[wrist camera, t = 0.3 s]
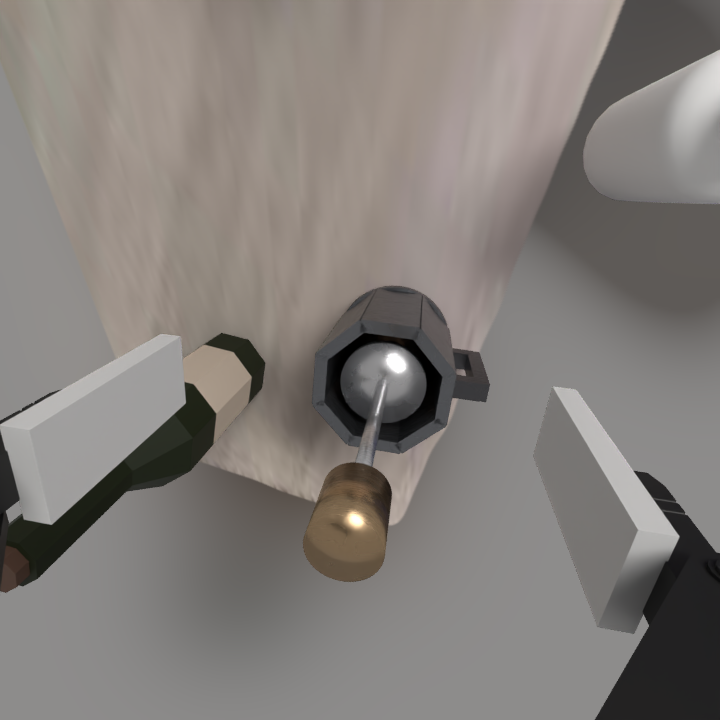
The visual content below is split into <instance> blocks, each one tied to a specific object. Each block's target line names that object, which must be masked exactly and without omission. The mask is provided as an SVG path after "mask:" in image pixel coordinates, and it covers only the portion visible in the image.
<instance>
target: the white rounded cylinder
mask: <svg viewBox="0 0 720 720" xmlns="http://www.w3.org/2000/svg"><path fill="white" fill-rule="evenodd" d="M583 167H584V171H585V173H586V176H587V178H588V181H589V183H590V184H591V185H592V186H593V187H594V188H595V189H596V190H597V191H598V192H599V193H600V194H602V195H604V196H606V197H609V198H610V199H612V200H620V201H634V202H667V203H699V204H720V50H718V51H716V52H714V53H712V54H711V55H708V56H706V57H704V58H702V59H700V60H698V61H696V62H694V63H692V64H691V65H688V66H686V67H684V68H682V69H680V70H678V71H676V72H674V73H672V74H670V75H668V76H666V77H664V78H662V79H660V80H658V81H656V82H654V83H652V84H650V85H648V86H646V87H644V88H642V89H641V90H638V91H636V92H634V93H633V94H631V95H629V96H626V97H625V98H623V99H621V100H620V101H618V102H616V103H614V104H613V105H611V106H610V107H609V108H608V109H607V110H606V111H605V112H604V113H603V114H602V115H601V116H600V117H599V118H598V119H597V120H596V122H595V123H594V125H593V127H592V129H591V130H590V132H589V134H588V136H587V138H586V143H585V146H584V150H583Z"/></svg>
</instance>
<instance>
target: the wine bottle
mask: <svg viewBox="0 0 720 720" xmlns="http://www.w3.org/2000/svg"><path fill="white" fill-rule="evenodd" d="M264 369H265V362H264V361H263V359H262V358H261V356H260V355H259V354H258V352H257V351H256V349H255V348H254V347H253V345H252V344H251V342H250V341H249V340H247V339H243V338H239V337H235V336H231V335H227V334H223V333H221V334H219V335H218V336H216V337H215V338H213V339H212V340H210V341H209V342H207V343H206V344H204V345H203V346H201V347H200V348H198V349H197V350H195V351H194V352H192V353H191V354H189V355H188V356H186V357H185V358H183V371H184V384H185V397H186V404H185V405H183V406H182V407H181V408H180V409H179V410H178V411H177V412H176V413H175V414H174V415H172V416H171V417H170V418H169V419H168V420H167V421H166V422H165V423H164V424H162V425H161V426H160V427H159V428H158V429H157V430H156V431H155V432H154V433H153V434H151V435H150V436H149V437H148V438H147V439H146V440H145V441H144V442H143V443H141V444H140V445H139V446H138V447H137V448H136V449H135V450H134V451H133V452H132V453H130V454H129V455H128V456H127V457H126V458H125V459H124V460H123V461H122V462H121V463H119V464H118V465H117V466H116V467H115V468H114V469H113V470H112V471H111V472H109V473H108V474H107V475H106V476H105V477H104V478H103V479H102V480H101V481H100V482H98V483H97V484H96V485H95V486H94V487H93V488H92V489H91V490H90V491H88V492H87V493H86V494H85V495H84V496H83V497H82V498H81V499H80V500H79V501H77V502H76V503H75V504H74V505H73V506H72V507H71V508H70V509H69V510H68V511H66V512H65V513H64V514H63V515H62V516H61V517H60V518H59V519H58V520H56V521H55V522H54V523H53V524H52V525H50V524H44V523H39V522H34V521H28V520H24V518H23V514H21V515H20V516H18V517H17V518H16V519H14V520H13V521H12V522H11V523H9V525H8V533H7V541H6V549H5V557H4V565H3V573H2V581H1V588H0V591H2V592H5V593H6V592H8V591H10V590H12V589H14V588H16V587H17V586H18V585H20V586H24V585H26V584H28V583H30V582H32V581H34V580H36V579H38V578H39V577H40V576H41V575H42V574H43V573H44V572H45V571H46V570H47V569H48V568H49V567H50V566H51V565H52V564H53V563H54V562H55V561H56V560H57V559H58V558H59V557H60V556H61V555H62V554H63V553H64V552H65V551H66V550H67V549H68V548H69V547H70V546H71V545H72V544H73V543H74V542H75V541H76V540H77V539H78V538H79V537H80V536H81V535H82V534H83V533H85V531H87V530H88V529H89V528H90V527H91V525H93V524H94V523H95V522H96V521H97V520H98V518H100V517H101V516H102V515H103V514H104V513H105V512H106V511H107V510H108V509H109V508H110V507H111V506H112V505H113V504H114V503H115V502H116V501H117V500H118V499H119V498H120V497H121V496H122V495H123V494H124V493H125V492H127V491H133V490H140V489H146V488H153V487H160V486H164V485H166V484H167V483H169V482H171V481H173V480H175V479H177V478H178V477H180V476H182V475H184V474H186V473H188V472H189V471H191V470H192V468H193V467H194V466H195V465H196V464H197V463H198V461H199V460H200V459H201V458H202V457H203V456H204V455H205V453H206V452H207V451H208V450H209V449H210V448H211V446H212V445H213V444H214V443H215V442H216V441H217V439H218V438H219V437H220V436H221V435H222V434H223V432H224V431H225V430H226V429H227V428H228V427H229V426H230V424H231V423H232V422H233V421H234V420H235V419H236V417H237V416H238V415H239V414H240V413H241V412H242V410H243V409H244V408H245V407H246V406H247V405H248V403H249V402H250V401H251V400H252V399H253V398H254V397H255V395H256V394H257V393H258V392H259V391H260V390H261V388H262V383H263V376H264Z"/></svg>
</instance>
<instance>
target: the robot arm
mask: <svg viewBox="0 0 720 720" xmlns="http://www.w3.org/2000/svg"><path fill="white" fill-rule="evenodd" d="M185 404H186V397H185V384H184V371H183V358H182V344H181V336H174V335H167V334H160V335H158V336H156V337H154V338H153V339H151V340H149V341H147V342H146V343H144V344H142V345H140V346H139V347H137V348H135V349H133V350H131V351H130V352H128V353H126V354H124V355H123V356H121V357H119V358H117V359H115V360H114V361H112V362H110V363H108V364H107V365H105V366H103V367H101V368H99V369H98V370H96V371H94V372H92V373H91V374H89V375H87V376H85V377H84V378H82V379H80V380H78V381H76V382H75V383H73V384H71V385H69V386H68V387H66V388H64V389H61V390H58V391H55V392H52V393H49V394H47V395H46V396H44V397H42V398H40V399H39V400H37V401H35V403H34V404H33V403H31V404H29V405H28V406H26V407H24V408H22V411H17V412H15V413H13V414H12V415H10V416H8V417H6V418H4V419H3V420H1V421H0V588H1V581H2V573H3V565H4V557H5V549H6V541H7V533H8V525H9V521H8V518H7V514H6V510H7V509H9V508H10V507H11V506H12V505H14V504H15V503H16V502H18V501H19V503H20V507H21V511H22V514H23V518H24V520H28V521H34V522H39V523H44V524H50V525H52V524H53V523H54V522H55V521H56V520H58V519H59V518H60V517H61V516H62V515H63V514H64V513H65V512H66V511H68V510H69V509H70V508H71V507H72V506H73V505H74V504H75V503H76V502H77V501H79V500H80V499H81V498H82V497H83V496H84V495H85V494H86V493H87V492H88V491H90V490H91V489H92V488H93V487H94V486H95V485H96V484H97V483H98V482H100V481H101V480H102V479H103V478H104V477H105V476H106V475H107V474H108V473H109V472H111V471H112V470H113V469H114V468H115V467H116V466H117V465H118V464H119V463H121V462H122V461H123V460H124V459H125V458H126V457H127V456H128V455H129V454H130V453H132V452H133V451H134V450H135V449H136V448H137V447H138V446H139V445H140V444H141V443H143V442H144V441H145V440H146V439H147V438H148V437H149V436H150V435H151V434H153V433H154V432H155V431H156V430H157V429H158V428H159V427H160V426H161V425H162V424H164V423H165V422H166V421H167V420H168V419H169V418H170V417H171V416H172V415H174V414H175V413H176V412H177V411H178V410H179V409H180V408H181V407H182V406H183V405H185ZM533 457H534V459H535V462H536V465H537V467H538V470H539V473H540V475H541V478H542V481H543V483H544V486H545V489H546V491H547V494H548V497H549V499H550V502H551V504H552V507H553V510H554V513H555V515H556V518H557V520H558V523H559V526H560V528H561V531H562V534H563V537H564V539H565V542H566V544H567V547H568V550H569V552H570V555H571V558H572V560H573V563H574V566H575V568H576V571H577V574H578V576H579V579H580V582H581V584H582V587H583V590H584V592H585V595H586V598H587V600H588V603H589V605H590V608H591V611H592V614H593V616H594V619H595V622H596V624H597V627H600V628H605V629H611V630H617V631H621V632H627V633H632V634H634V633H635V631H636V629H637V626H638V624H639V622H640V620H641V618H642V616H643V614H644V616H645V618H646V620H647V622H648V624H649V627H648V629H647V631H646V633H645V634H644V636H643V638H642V639H641V641H640V643H639V645H638V646H637V648H636V650H635V652H634V653H633V655H632V657H631V658H630V660H629V662H628V664H627V665H626V667H625V669H624V671H623V672H622V674H621V676H620V677H619V679H618V681H617V683H616V684H615V686H614V688H613V689H612V691H611V693H610V695H609V696H608V698H607V700H606V702H605V703H604V705H603V707H602V708H601V710H600V712H599V714H598V715H597V717H596V719H595V720H720V553H716V552H715V550H714V549H713V548H712V546H711V545H710V544H709V543H708V541H707V540H706V539H705V537H704V536H703V535H702V534H701V532H700V531H699V530H698V528H697V527H696V526H695V524H694V523H693V522H692V521H691V519H690V518H689V517H688V516H687V515H685V512H684V510H683V509H682V508H681V506H680V505H679V504H678V503H676V500H675V498H674V497H673V496H672V495H671V493H670V492H669V491H668V489H667V488H666V487H665V486H664V485H663V484H661V483H660V482H659V481H657V480H656V479H655V478H653V477H652V476H651V475H649V474H648V473H645V472H638V471H633V470H632V468H631V467H630V466H629V464H628V463H627V461H626V460H625V458H624V457H623V456H622V454H621V453H620V451H619V450H618V448H617V447H616V446H615V444H614V443H613V441H612V440H611V438H610V437H609V436H608V434H607V433H606V431H605V430H604V428H603V427H602V426H601V424H600V423H599V421H598V420H597V419H596V417H595V416H594V414H593V413H592V412H591V410H590V409H589V407H588V406H587V404H586V403H585V402H584V400H583V399H582V397H581V396H580V394H579V393H578V391H577V390H575V389H567V388H560V387H552V390H551V394H550V397H549V401H548V404H547V408H546V412H545V415H544V419H543V422H542V426H541V429H540V433H539V437H538V440H537V444H536V447H535V451H534V454H533Z"/></svg>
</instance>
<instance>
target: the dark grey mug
mask: <svg viewBox="0 0 720 720" xmlns="http://www.w3.org/2000/svg"><path fill="white" fill-rule="evenodd" d="M373 341H392V342H396V343H399V344H401V345H403V346H405V347H407V348H408V349H410V350H411V351H412V352H413V353H415V355H416V356H417V357H418V358H419V360H420V361H421V363H422V365H423V367H424V370H425V373H426V393H425V396H424V399H423V401H422V403H421V405H420V406H419V407H418V409H417V410H416V411H415V412H414V413H413V414H411V415H410V416H408V417H406V418H405V419H402V420H400V421H396V422H391V423H381V427H380V431H379V436H378V441H377V446H376V450H379V451H385V452H391V453H397V454H400V452H401V453H404V452H405V451H407V450H408V449H410V448H412V447H413V446H415V445H417V444H418V443H420V442H422V441H423V440H425V439H427V438H428V437H430V436H431V435H433V434H435V433H436V432H438V431H440V430H441V429H443V428H445V427H446V425H447V421H448V416H449V411H450V406H451V401H452V398H459V399H465V400H472V401H482V402H486V399H487V395H488V391H489V386H490V384H489V380H488V377H487V374H486V372H485V368H484V365H483V362H482V359H481V356H480V353H479V352H473V351H468V350H461V349H454V348H452V343H451V337H450V330H449V328H448V327H447V323H446V320H445V318H444V316H443V314H442V312H441V311H440V309H439V308H438V307H437V306H436V304H435V303H434V302H433V301H432V300H430V299H429V298H428V297H427V296H425V295H424V294H422V293H420V292H418V291H416V290H414V289H411V288H407V287H402V286H385V287H380V288H376V289H373V290H371V291H369V292H367V293H365V294H363V295H362V296H361V297H359V298H358V299H357V300H356V301H355V302H354V303H353V304H352V305H351V306H350V307H349V309H348V310H347V312H346V313H345V314H343V316H342V317H341V318H340V320H339V321H338V323H337V324H336V326H335V327H334V328H333V330H332V331H331V333H330V334H329V335H328V337H327V338H326V340H325V341H324V342H323V344H322V345H321V347H320V348H319V349H318V351H317V352H316V354H315V368H314V382H313V397H312V404H313V407H314V408H315V409H316V410H317V411H318V413H319V414H320V415H321V416H322V417H323V418H324V419H325V421H326V422H327V423H328V424H329V425H330V426H331V427H332V429H333V430H334V431H335V432H336V433H337V434H338V435H339V437H340V438H341V439H342V440H343V441H344V442H345V443H346V444H348V445H349V446H355V447H360V443H361V440H362V436H363V432H364V429H365V425H366V421H367V419H366V418H364V417H362V416H360V415H359V414H357V413H356V412H355V411H354V410H353V409H352V408H351V407H350V406H349V405H348V403H347V402H346V400H345V398H344V396H343V394H342V390H341V373H342V370H343V367H344V365H345V363H346V361H347V359H348V358H349V356H350V355H351V354H352V353H353V352H354V351H355V350H356V349H357V348H359V347H361V346H362V345H364V344H367V343H370V342H373ZM456 368H457V369H464V370H465V373H466V376H461V375H457V374H456Z"/></svg>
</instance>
